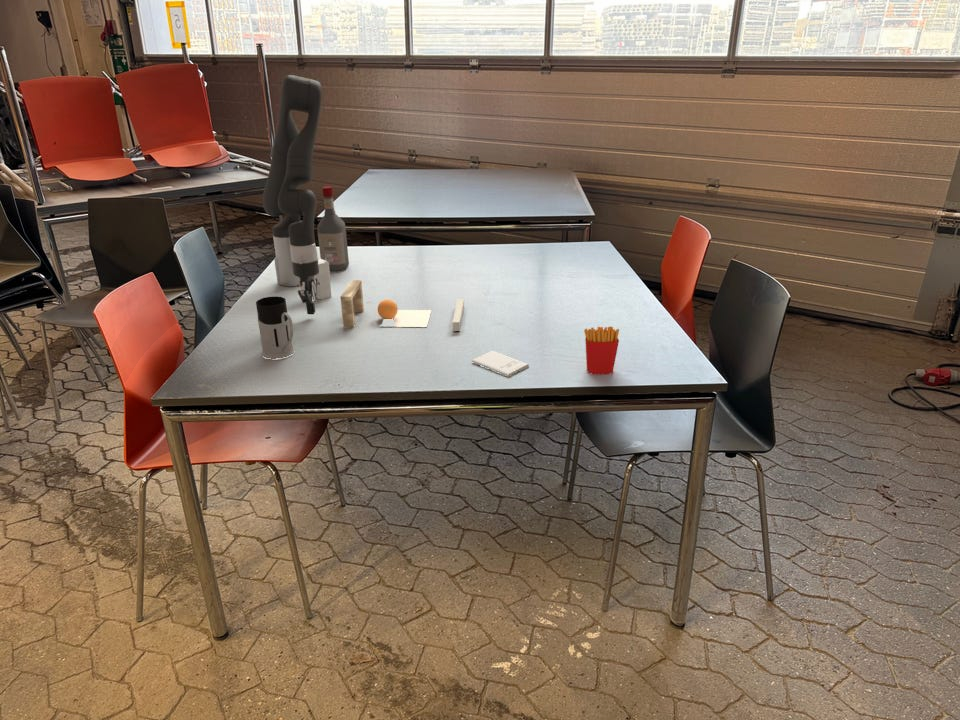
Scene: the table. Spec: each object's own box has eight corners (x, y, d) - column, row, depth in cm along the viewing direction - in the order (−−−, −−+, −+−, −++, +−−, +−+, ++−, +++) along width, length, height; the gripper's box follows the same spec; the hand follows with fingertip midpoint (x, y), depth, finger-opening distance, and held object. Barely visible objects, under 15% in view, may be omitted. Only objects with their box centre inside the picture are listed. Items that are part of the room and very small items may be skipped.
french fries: (614, 367, 170) (617, 323, 164) (617, 374, 166) (620, 330, 161) (580, 367, 170) (583, 324, 164) (583, 374, 166) (586, 330, 161)
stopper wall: (452, 331, 192) (452, 322, 191) (457, 307, 210) (457, 298, 209) (459, 331, 192) (459, 322, 191) (464, 307, 210) (463, 298, 209)
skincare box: (311, 295, 222) (307, 260, 217) (323, 292, 225) (319, 257, 219) (321, 300, 218) (317, 264, 213) (333, 296, 220) (329, 261, 215)
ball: (380, 300, 196) (398, 309, 197) (385, 293, 202) (402, 302, 202) (372, 316, 199) (390, 325, 200) (377, 309, 204) (394, 318, 205)
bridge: (343, 327, 196) (340, 296, 192) (354, 309, 209) (351, 280, 205) (353, 327, 196) (350, 296, 191) (363, 309, 209) (361, 280, 205)
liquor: (345, 272, 245) (337, 189, 232) (320, 272, 245) (311, 189, 233) (350, 264, 253) (342, 184, 241) (326, 264, 254) (317, 185, 241)
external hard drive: (493, 355, 179) (528, 368, 171) (471, 365, 173) (508, 379, 165) (492, 350, 178) (529, 363, 170) (471, 359, 172) (508, 373, 165)
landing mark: (379, 327, 196) (379, 326, 196) (387, 310, 208) (387, 309, 208) (426, 327, 195) (426, 327, 195) (431, 310, 208) (431, 310, 208)
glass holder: (285, 344, 185) (278, 293, 179) (311, 359, 176) (304, 306, 169) (256, 353, 180) (247, 301, 173) (281, 369, 170) (273, 315, 164)
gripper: (298, 252, 201) (305, 305, 208) (285, 264, 189) (292, 321, 196) (322, 252, 201) (328, 306, 208) (311, 265, 189) (317, 321, 196)
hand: (311, 313), depth 202 cm, fingers closed
